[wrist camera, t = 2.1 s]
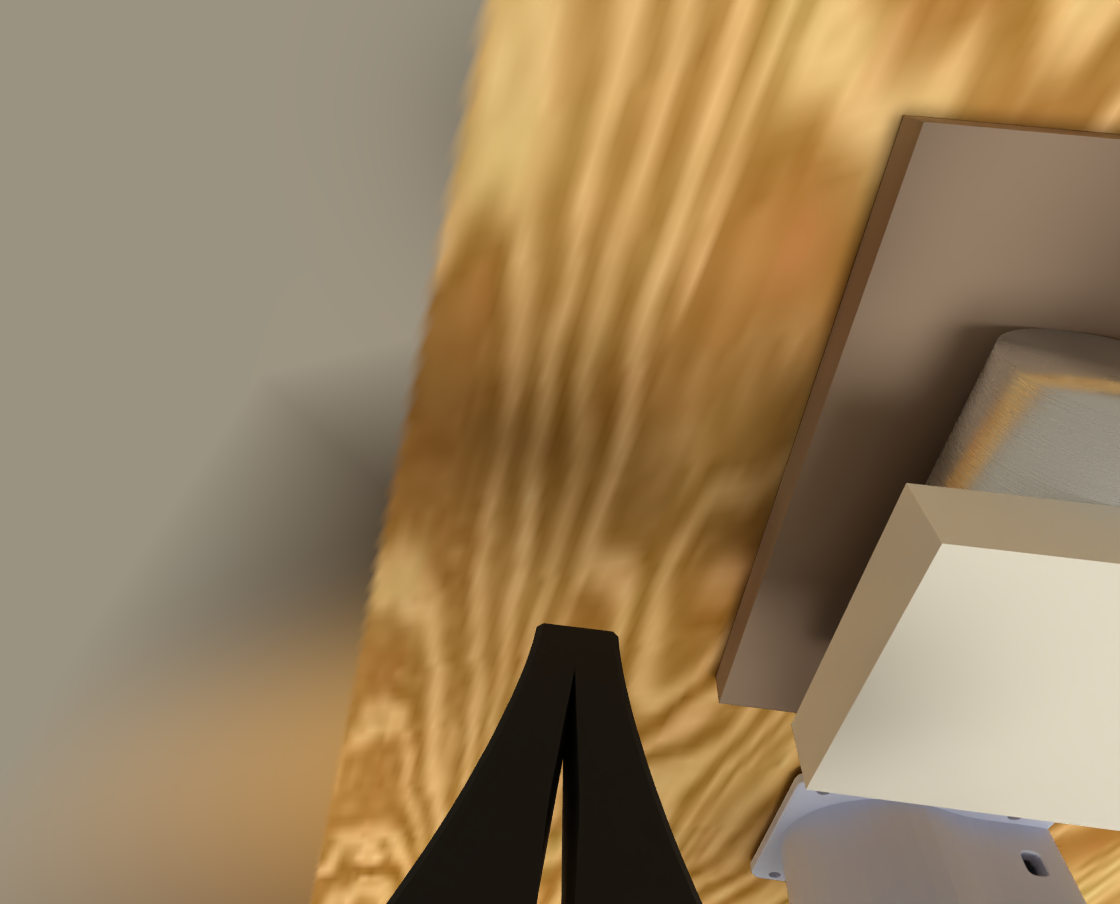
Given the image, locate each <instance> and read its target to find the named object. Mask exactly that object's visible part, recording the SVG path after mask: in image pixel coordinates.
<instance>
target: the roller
mask: <svg viewBox="0 0 1120 904" xmlns="http://www.w3.org/2000/svg"><path fill="white" fill-rule="evenodd" d="M925 485H929V486H938V487H947V488H956V489H965V490H973V491H982V492H991V493H1000V494H1009V495H1018V496H1027V497H1036V498H1045V499H1054V500H1063V501H1072V502H1081V503H1090V504H1099V505H1108V506H1117V507H1120V340H1116V339H1112V338H1107V337H1102V336H1098V335H1092V334H1087V333H1081V332H1075V331H1067V330H1057V329H1044V328H1030V329H1019V330H1013V331H1010V332H1006V333H1004V334H1002V335H1001V336H1000V337H999V338H998V339H997V341H996V343H995V345H994V347H993V349H992V351H991V353H990V355H989V357H988V359H987V361H986V363H985V365H984V367H983V369H982V371H981V373H980V375H979V377H978V379H977V381H976V383H975V385H974V387H973V389H972V391H971V393H970V395H969V397H968V399H967V401H966V403H965V405H964V407H963V409H962V411H961V413H960V415H959V418H958V420H957V422H956V424H955V426H954V428H953V430H952V432H951V434H950V436H949V438H948V440H947V442H946V444H945V446H944V448H943V450H942V452H941V454H940V456H939V458H938V460H937V462H936V464H935V466H934V468H933V470H932V472H931V474H930V476H929V478H928V480H927V482H926V484H925Z"/></svg>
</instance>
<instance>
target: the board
mask: <svg viewBox="0 0 1120 904" xmlns="http://www.w3.org/2000/svg"><path fill="white" fill-rule="evenodd" d="M1030 328H1044V329H1057V330H1067V331H1075V332H1081V333H1087V334H1092V335H1098V336H1102V337H1107V338H1112V339H1116V340H1120V134H1109V133H1098V132H1087V131H1075V130H1064V129H1053V128H1042V127H1031V126H1019V125H1008V124H997V123H986V122H974V121H963V120H952V119H941V118H930V117H918V116H907V115H904V116H903V119H902V122H901V125H900V128H899V131H898V134H897V137H896V140H895V143H894V146H893V149H892V152H891V155H890V158H889V161H888V164H887V167H886V170H885V173H884V176H883V179H882V182H881V185H880V188H879V191H878V194H877V197H876V200H875V203H874V206H873V209H872V212H871V215H870V218H869V221H868V224H867V227H866V230H865V233H864V236H863V239H862V242H861V245H860V248H859V251H858V253H857V256H856V259H855V262H854V265H853V268H852V271H851V274H850V277H849V280H848V283H847V286H846V289H845V292H844V295H843V298H842V301H841V304H840V307H839V310H838V313H837V316H836V319H835V322H834V325H833V328H832V331H831V334H830V337H829V340H828V343H827V346H826V349H825V352H824V355H823V358H822V361H821V364H820V367H819V370H818V373H817V376H816V379H815V382H814V385H813V388H812V391H811V394H810V397H809V400H808V403H807V406H806V409H805V412H804V415H803V418H802V421H801V424H800V427H799V430H798V433H797V436H796V439H795V442H794V445H793V448H792V451H791V454H790V457H789V460H788V463H787V466H786V469H785V472H784V475H783V478H782V481H781V484H780V487H779V490H778V493H777V496H776V499H775V502H774V505H773V508H772V510H771V513H770V516H769V519H768V522H767V525H766V528H765V531H764V534H763V537H762V540H761V543H760V546H759V549H758V552H757V555H756V558H755V561H754V564H753V567H752V570H751V573H750V576H749V579H748V582H747V585H746V588H745V591H744V594H743V597H742V600H741V603H740V606H739V609H738V612H737V615H736V618H735V621H734V624H733V627H732V630H731V633H730V636H729V639H728V642H727V645H726V648H725V651H724V654H723V657H722V660H721V663H720V666H719V669H718V672H717V675H716V683H717V691H718V699H719V703H723V704H731V705H738V706H746V707H754V708H762V709H770V710H778V711H786V712H793V713H797V712H798V709H799V707H800V705H801V703H802V701H803V699H804V697H805V695H806V693H807V691H808V688H809V686H810V684H811V682H812V680H813V678H814V676H815V674H816V672H817V670H818V667H819V665H820V663H821V661H822V659H823V657H824V655H825V653H826V651H827V649H828V646H829V644H830V642H831V640H832V638H833V636H834V634H835V632H836V630H837V628H838V625H839V623H840V621H841V619H842V617H843V615H844V613H845V611H846V609H847V607H848V604H849V602H850V600H851V598H852V596H853V594H854V592H855V590H856V588H857V586H858V583H859V581H860V579H861V577H862V575H863V573H864V571H865V569H866V567H867V565H868V562H869V560H870V558H871V556H872V554H873V552H874V550H875V548H876V546H877V544H878V541H879V539H880V537H881V535H882V533H883V531H884V529H885V527H886V525H887V523H888V520H889V518H890V516H891V514H892V512H893V510H894V508H895V506H896V504H897V501H898V499H899V497H900V495H901V493H902V491H903V489H904V487H905V485H906V483H911V484H920V485H925V484H926V482H927V480H928V478H929V476H930V474H931V472H932V470H933V468H934V466H935V464H936V462H937V460H938V458H939V456H940V454H941V452H942V450H943V448H944V446H945V444H946V442H947V440H948V438H949V436H950V434H951V432H952V430H953V428H954V426H955V424H956V422H957V420H958V418H959V415H960V413H961V411H962V409H963V407H964V405H965V403H966V401H967V399H968V397H969V395H970V393H971V391H972V389H973V387H974V385H975V383H976V381H977V379H978V377H979V375H980V373H981V371H982V369H983V367H984V365H985V363H986V361H987V359H988V357H989V355H990V353H991V351H992V349H993V347H994V345H995V343H996V341H997V339H998V338H999V337H1000V336H1001V335H1002V334H1004V333H1006V332H1010V331H1013V330H1019V329H1030Z"/></svg>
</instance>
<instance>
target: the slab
mask: <svg viewBox="0 0 1120 904" xmlns="http://www.w3.org/2000/svg"><path fill="white" fill-rule="evenodd" d="M791 725H792V730H793V734H794V739H795V743H796V748H797V752H798V757H799V761H800V765H801V770H802V774H803V779H804V783H805V788H806V790H813V791H821V792H829V793H836V794H844V795H851V796H859V797H867V798H874V799H882V800H889V801H897V802H904V803H912V804H920V805H927V806H935V807H942V808H950V809H958V810H965V811H973V812H980V813H988V814H996V815H1003V816H1011V817H1018V818H1026V819H1034V820H1041V821H1049V822H1056V823H1064V824H1072V825H1079V826H1087V827H1094V828H1102V829H1109V830H1117V831H1120V507H1117V506H1108V505H1099V504H1090V503H1081V502H1072V501H1063V500H1054V499H1045V498H1036V497H1027V496H1018V495H1009V494H1000V493H991V492H982V491H973V490H965V489H956V488H947V487H938V486H929V485H920V484H911V483H906V485H905V487H904V489H903V491H902V493H901V495H900V497H899V499H898V501H897V504H896V506H895V508H894V510H893V512H892V514H891V516H890V518H889V520H888V523H887V525H886V527H885V529H884V531H883V533H882V535H881V537H880V539H879V541H878V544H877V546H876V548H875V550H874V552H873V554H872V556H871V558H870V560H869V562H868V565H867V567H866V569H865V571H864V573H863V575H862V577H861V579H860V581H859V583H858V586H857V588H856V590H855V592H854V594H853V596H852V598H851V600H850V602H849V604H848V607H847V609H846V611H845V613H844V615H843V617H842V619H841V621H840V623H839V625H838V628H837V630H836V632H835V634H834V636H833V638H832V640H831V642H830V644H829V646H828V649H827V651H826V653H825V655H824V657H823V659H822V661H821V663H820V665H819V667H818V670H817V672H816V674H815V676H814V678H813V680H812V682H811V684H810V686H809V688H808V691H807V693H806V695H805V697H804V699H803V701H802V703H801V705H800V707H799V709H798V712H797V714H796V716H795V718H794V720H793V722H792V724H791Z"/></svg>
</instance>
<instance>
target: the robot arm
mask: <svg viewBox="0 0 1120 904" xmlns="http://www.w3.org/2000/svg"><path fill="white" fill-rule="evenodd" d="M562 761H563V809H562V898H561V904H702V902H701V900H700V898H699V895H698V893H697V891H696V889H695V886H694V884H693V882H692V879H691V877H690V875H689V872H688V870H687V868H686V865H685V863H684V861H683V858H682V856H681V853H680V851H679V848H678V846H677V843H676V841H675V838H674V836H673V833H672V831H671V828H670V826H669V823H668V820H667V818H666V815H665V812H664V809H663V807H662V804H661V801H660V798H659V796H658V793H657V790H656V787H655V785H654V782H653V779H652V776H651V773H650V770H649V767H648V764H647V760H646V757H645V754H644V750H643V747H642V744H641V741H640V737H639V734H638V731H637V727H636V724H635V720H634V717H633V713H632V709H631V705H630V701H629V697H628V693H627V688H626V684H625V679H624V674H623V669H622V663H621V657H620V650H619V639H618V636H617V635H616V634H615V633H614V632H611V631H603V630H595V629H586V628H578V627H570V626H562V625H553V624H545V623H543V624H541V625H540V626H538V627H537V628H536V633H535V637H534V640H533V644H532V647H531V650H530V653H529V656H528V659H527V661H526V664H525V667H524V669H523V672H522V674H521V676H520V679H519V681H518V683H517V686H516V688H515V690H514V693H513V695H512V697H511V699H510V701H509V703H508V705H507V707H506V709H505V712H504V714H503V716H502V718H501V720H500V722H499V724H498V726H497V728H496V730H495V732H494V734H493V736H492V738H491V740H490V742H489V743H488V745H487V747H486V749H485V751H484V752H483V754H482V756H481V758H480V759H479V761H478V763H477V765H476V767H475V768H474V770H473V772H472V774H471V776H470V777H469V779H468V781H467V783H466V784H465V786H464V788H463V789H462V791H461V793H460V794H459V796H458V798H457V799H456V801H455V803H454V804H453V806H452V808H451V809H450V811H449V812H448V814H447V816H446V817H445V819H444V820H443V822H442V823H441V825H440V827H439V828H438V830H437V831H436V833H435V834H434V836H433V837H432V839H431V840H430V842H429V843H428V845H427V846H426V848H425V849H424V851H423V852H422V854H421V855H420V857H419V858H418V860H417V861H416V862H415V864H414V865H413V867H412V868H411V870H410V871H409V873H408V874H407V875H406V877H405V878H404V880H403V881H402V883H401V884H400V885H399V887H398V888H397V890H396V891H395V893H394V894H393V895H392V897H391V898H390V899H389V901H388V902H387V904H537V898H538V892H539V886H540V881H541V875H542V870H543V865H544V859H545V854H546V848H547V843H548V837H549V832H550V826H551V821H552V815H553V810H554V805H555V799H556V794H557V788H558V783H559V777H560V772H561V766H562ZM1054 823H1055V822H1049V821H1041V820H1034V819H1026V818H1018V817H1011V816H1003V815H996V814H988V813H980V812H973V811H965V810H958V809H950V808H942V807H935V806H927V805H920V804H912V803H904V802H897V801H889V800H882V799H874V798H867V797H859V796H851V795H844V794H836V793H829V792H821V791H813V790H806V788H805V783H804V779H803V774H802V773H801V774H799V775H798V776H797V777H796V778H795V779H794V781H793V783H792V785H791V787H790V789H789V791H788V792H787V794H786V796H785V798H784V800H783V802H782V804H781V806H780V808H779V810H778V812H777V813H776V815H775V817H774V819H773V821H772V823H771V825H770V827H769V829H768V831H767V833H766V834H765V836H764V838H763V840H762V842H761V844H760V846H759V848H758V850H757V852H756V854H755V856H754V857H753V859H752V861H751V864H750V866H751V873H752V874H753V875H754V876H756V877H759V878H765V879H772V880H779V881H786V886H787V892H788V897H789V903H790V904H1086V902H1085V900H1084V898H1083V896H1082V894H1081V892H1080V890H1079V888H1078V886H1077V884H1076V882H1075V880H1074V878H1073V876H1072V874H1071V872H1070V871H1069V869H1068V867H1067V865H1066V863H1065V861H1064V859H1063V857H1062V855H1061V853H1060V851H1059V849H1058V847H1057V845H1056V843H1055V841H1054V840H1053V838H1052V836H1051V834H1050V832H1049V830H1048V829H1049V828H1050V827H1051V826H1052V825H1053V824H1054Z"/></svg>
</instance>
